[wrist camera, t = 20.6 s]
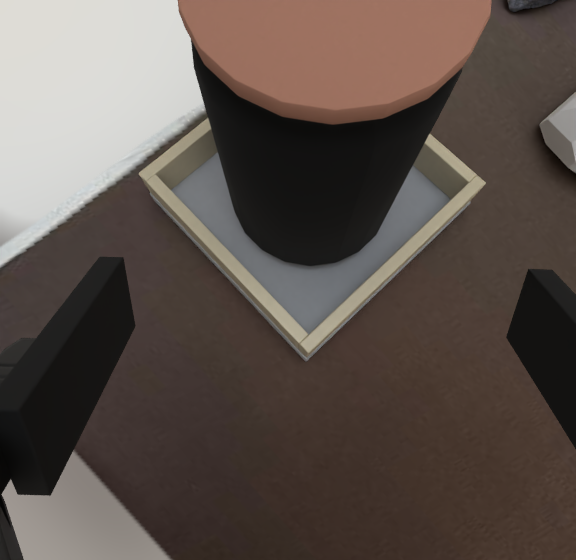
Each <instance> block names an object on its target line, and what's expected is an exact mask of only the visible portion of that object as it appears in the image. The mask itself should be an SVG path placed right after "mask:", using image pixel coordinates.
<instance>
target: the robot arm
mask: <svg viewBox="0 0 576 560" xmlns="http://www.w3.org/2000/svg"><path fill="white" fill-rule="evenodd" d="M134 328H135V321H134V316H133V310H132V304H131V299H130V293H129V287H128V281H127V276H126V270H125V264H124V259H123V257H99V258H98V260H97V261H96V262H95V263H94V265H93V266H92V267H91V269H90V270H89V271H88V272H87V274H86V275H85V276H84V278H83V279H82V280H81V281H80V283H79V284H78V285H77V287H76V288H75V289H74V290H73V292H72V293H71V294H70V296H69V297H68V298H67V299H66V301H65V302H64V303H63V305H62V306H61V307H60V308H59V310H58V311H57V312H56V314H55V315H54V316H53V317H52V319H51V320H50V321H49V323H48V324H47V325H46V326H45V328H44V329H43V330H42V332H41V333H40V334H39V335H38V337H37V338H21V339H19V340H18V341H16V342H15V343H13V344H12V345H10V346H9V347H7V348H6V349H4V350H3V351H2V353H1V354H0V560H24V559H23V556H22V553H21V550H20V547H19V544H18V541H17V538H16V535H15V531H14V529H13V526H12V522H11V520H10V516H9V513H8V510H7V507H6V504H5V501H4V499H3V497H2V495H1V494H2V492H3V491H4V489H5V487H6V486H7V484H8V482H9V481H10V479H11V480H12V482H13V485H14V487H15V489H16V492H17V494H19V495H51V493H52V491H53V489H54V487H55V485H56V483H57V481H58V480H59V478H60V475H61V474H62V472H63V470H64V467H65V466H66V463H67V461H68V460H69V458H70V455H71V454H72V452H73V450H74V448H75V446H76V444H77V442H78V440H79V438H80V436H81V434H82V432H83V430H84V428H85V426H86V424H87V422H88V420H89V418H90V416H91V414H92V412H93V410H94V408H95V406H96V404H97V402H98V400H99V398H100V396H101V394H102V392H103V390H104V388H105V386H106V384H107V382H108V380H109V378H110V376H111V374H112V372H113V370H114V368H115V366H116V364H117V362H118V360H119V358H120V356H121V354H122V352H123V350H124V348H125V346H126V344H127V342H128V340H129V338H130V336H131V334H132V332H133V330H134ZM506 338H507V339H508V341H509V342H510V344H511V346H512V347H513V349H514V350H515V352H516V354H517V355H518V357H519V358H520V360H521V362H522V363H523V365H524V367H525V368H526V370H527V371H528V373H529V375H530V376H531V378H532V379H533V381H534V383H535V384H536V386H537V387H538V389H539V391H540V392H541V394H542V396H543V397H544V399H545V400H546V402H547V404H548V405H549V407H550V408H551V410H552V412H553V413H554V415H555V416H556V418H557V420H558V421H559V423H560V424H561V426H562V428H563V429H564V431H565V433H566V434H567V436H568V437H569V439H570V441H571V442H572V444H573V445H574V447H575V449H576V294H575V293H574V292H573V291H572V290H571V289H570V288H569V287H568V286H567V285H566V284H565V283H564V282H563V281H562V280H561V279H560V278H559V277H558V276H557V274H556V273H555V272H554V271H553V270H540V269H528V272H527V275H526V278H525V281H524V284H523V287H522V290H521V293H520V297H519V300H518V303H517V306H516V309H515V312H514V315H513V318H512V321H511V324H510V327H509V330H508V333H507V337H506Z"/></svg>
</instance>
